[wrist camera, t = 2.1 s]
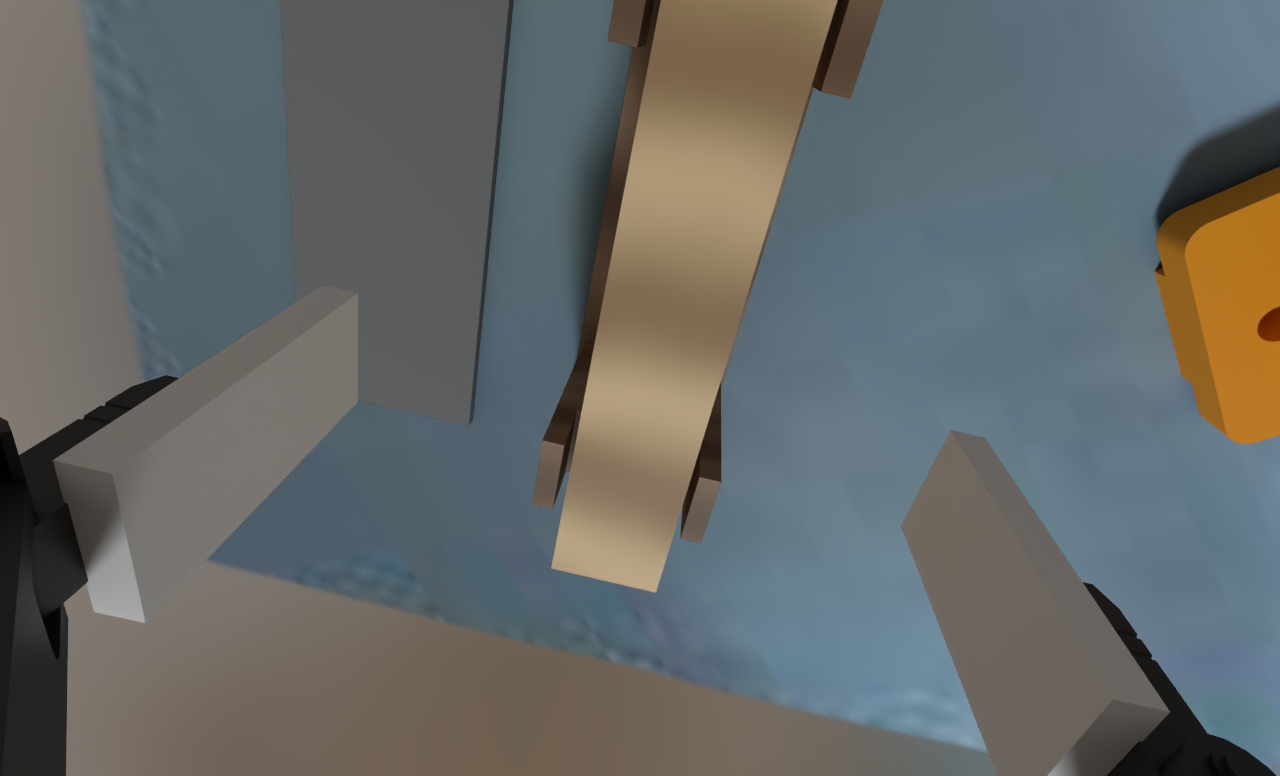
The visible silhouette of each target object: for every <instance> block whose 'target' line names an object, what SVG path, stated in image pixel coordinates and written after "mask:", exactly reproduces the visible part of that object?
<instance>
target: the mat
mask: <svg viewBox="0 0 1280 776" xmlns="http://www.w3.org/2000/svg"><path fill="white" fill-rule="evenodd" d="M512 9H513V0H280V12H281V31H282V49H283V68H284V87H285V106H286V125H287V143H288V162H289V181H290V200H291V219H292V237H293V256H294V275H295V294H296V302H298V301H299V300H301V299H302V298H304V297H305V296H307V295H308V294H310V293H311V292H313V291H315V290H316V289H318V288H319V287H321V286H322V285H324V286H329V287H333V288H337V289H342V290H346V291H350V292H355V293H358V400H359V401H363V402H367V403H371V404H376V405H380V406H384V407H389V408H393V409H397V410H402V411H406V412H410V413H414V414H419V415H423V416H427V417H432V418H436V419H440V420H444V421H449V422H453V423H457V424H462V425H466V426H469V425H470V423H471V422H472V420H473V409H474V399H475V389H476V379H477V368H478V358H479V348H480V338H481V327H482V317H483V307H484V297H485V286H486V276H487V266H488V256H489V245H490V235H491V225H492V214H493V204H494V194H495V184H496V173H497V163H498V153H499V143H500V132H501V122H502V112H503V102H504V91H505V81H506V71H507V61H508V50H509V40H510V30H511V20H512Z"/></svg>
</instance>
